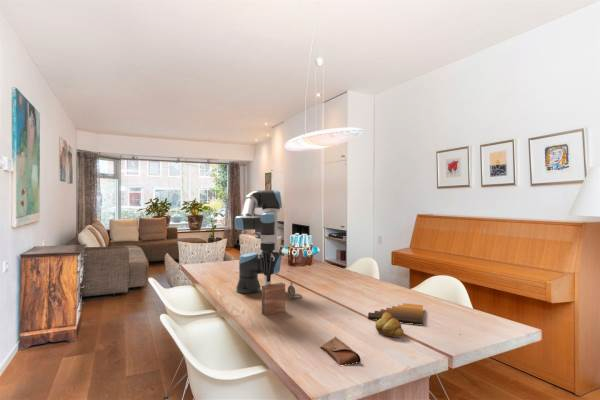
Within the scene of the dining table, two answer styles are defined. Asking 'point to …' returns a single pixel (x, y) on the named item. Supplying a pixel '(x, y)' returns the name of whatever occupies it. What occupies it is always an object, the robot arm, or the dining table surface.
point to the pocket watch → (293, 292)
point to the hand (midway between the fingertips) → (267, 287)
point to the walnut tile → (273, 298)
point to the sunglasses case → (340, 352)
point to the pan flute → (402, 313)
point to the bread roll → (389, 326)
